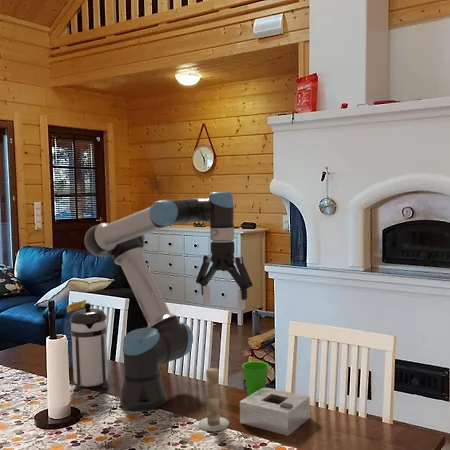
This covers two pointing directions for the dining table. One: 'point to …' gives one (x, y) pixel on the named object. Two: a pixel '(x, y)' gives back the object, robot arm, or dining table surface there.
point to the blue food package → (67, 326)
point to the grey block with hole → (275, 410)
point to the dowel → (212, 396)
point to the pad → (223, 425)
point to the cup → (255, 375)
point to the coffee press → (89, 347)
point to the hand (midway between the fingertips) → (224, 307)
